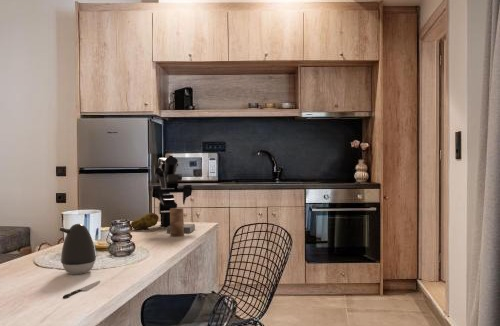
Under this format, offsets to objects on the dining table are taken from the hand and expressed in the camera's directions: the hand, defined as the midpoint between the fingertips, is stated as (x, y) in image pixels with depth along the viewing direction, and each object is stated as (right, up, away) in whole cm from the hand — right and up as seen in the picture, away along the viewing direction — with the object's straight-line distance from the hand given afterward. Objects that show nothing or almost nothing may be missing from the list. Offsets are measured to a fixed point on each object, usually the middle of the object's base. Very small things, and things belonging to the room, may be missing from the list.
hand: (174, 204), depth 225 cm
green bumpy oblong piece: (-16, -13, +12) cm, 24 cm away
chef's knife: (-9, -16, -92) cm, 94 cm away
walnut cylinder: (+2, -13, -7) cm, 15 cm away
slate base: (+2, -13, +6) cm, 14 cm away
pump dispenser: (-18, -15, -74) cm, 78 cm away
